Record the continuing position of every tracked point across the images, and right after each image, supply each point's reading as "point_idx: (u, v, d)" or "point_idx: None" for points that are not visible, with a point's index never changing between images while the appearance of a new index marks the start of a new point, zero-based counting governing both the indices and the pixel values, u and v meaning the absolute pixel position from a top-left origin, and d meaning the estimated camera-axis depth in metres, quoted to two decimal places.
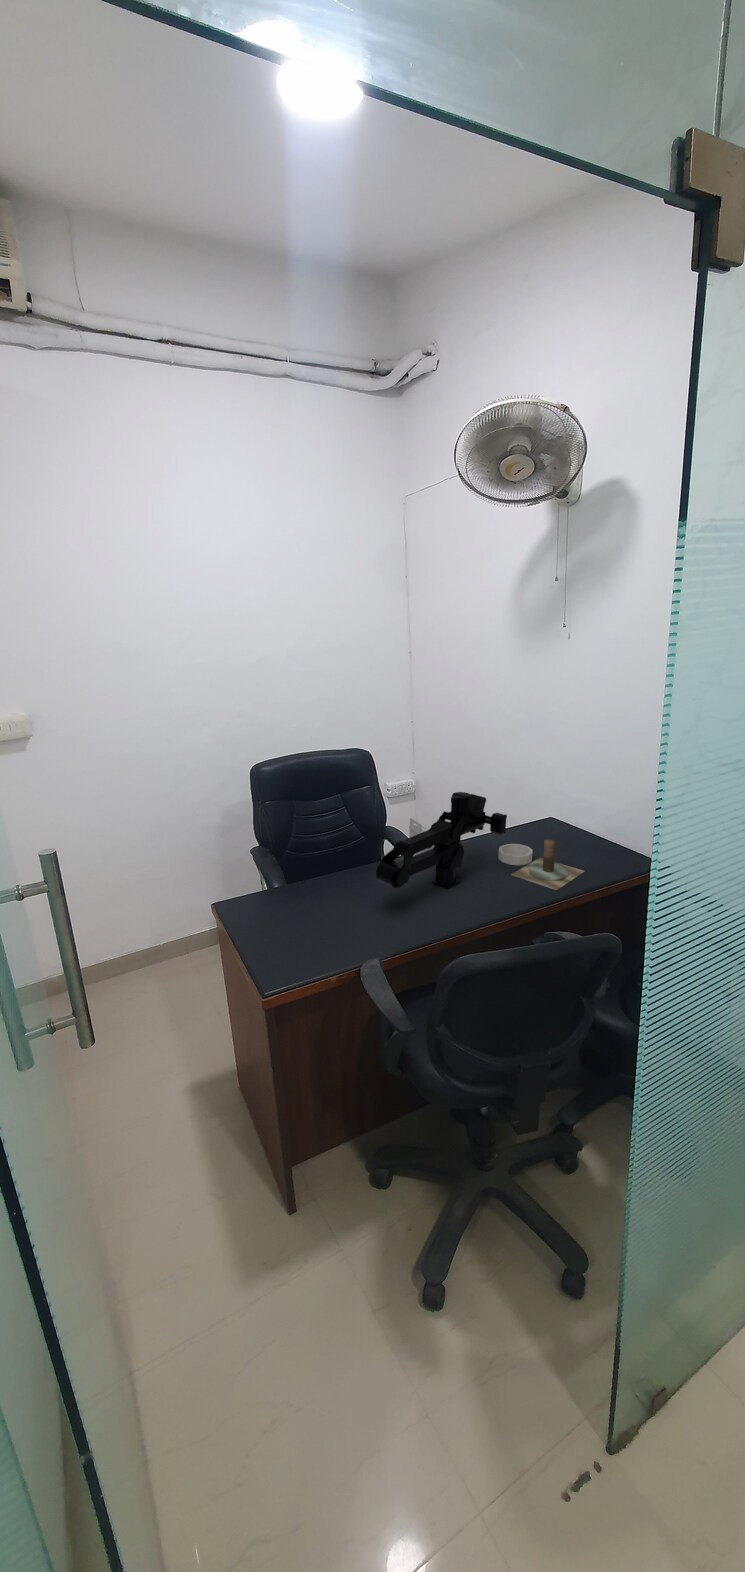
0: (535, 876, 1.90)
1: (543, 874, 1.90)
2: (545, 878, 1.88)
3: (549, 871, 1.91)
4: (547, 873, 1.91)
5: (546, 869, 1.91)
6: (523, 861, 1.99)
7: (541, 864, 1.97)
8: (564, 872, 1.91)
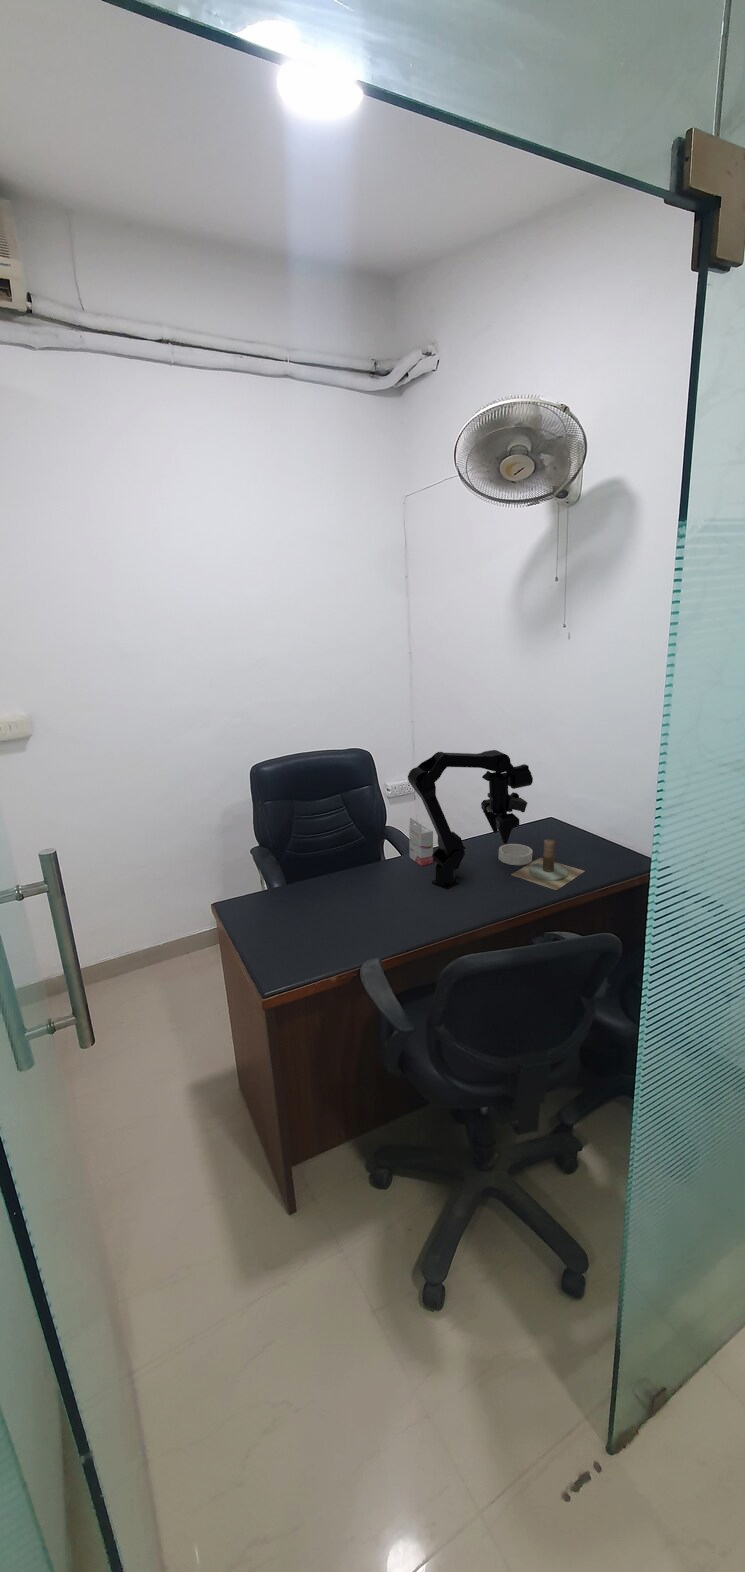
0: (535, 876, 1.90)
1: (543, 874, 1.90)
2: (545, 878, 1.88)
3: (549, 871, 1.91)
4: (547, 873, 1.91)
5: (546, 869, 1.91)
6: (523, 861, 1.99)
7: (541, 864, 1.97)
8: (564, 872, 1.91)
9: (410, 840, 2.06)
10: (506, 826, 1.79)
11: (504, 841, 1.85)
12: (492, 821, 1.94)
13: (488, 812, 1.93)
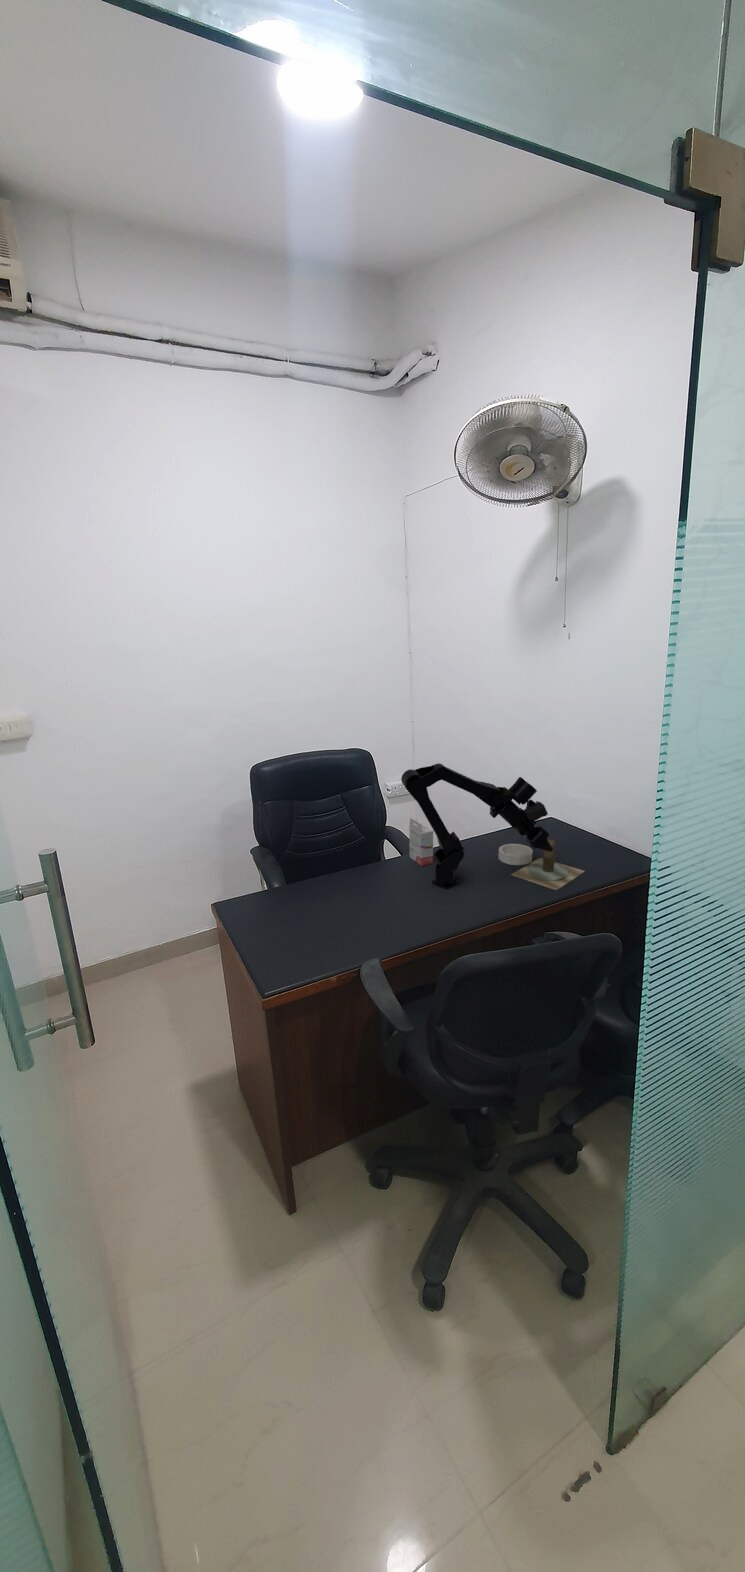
0: (535, 876, 1.90)
1: (543, 874, 1.90)
2: (545, 878, 1.88)
3: (549, 871, 1.91)
4: (547, 873, 1.91)
5: (546, 869, 1.91)
6: (523, 861, 1.99)
7: (541, 864, 1.97)
8: (564, 872, 1.91)
9: (410, 840, 2.06)
10: (539, 844, 1.79)
11: (549, 850, 1.85)
12: (530, 834, 1.94)
13: None
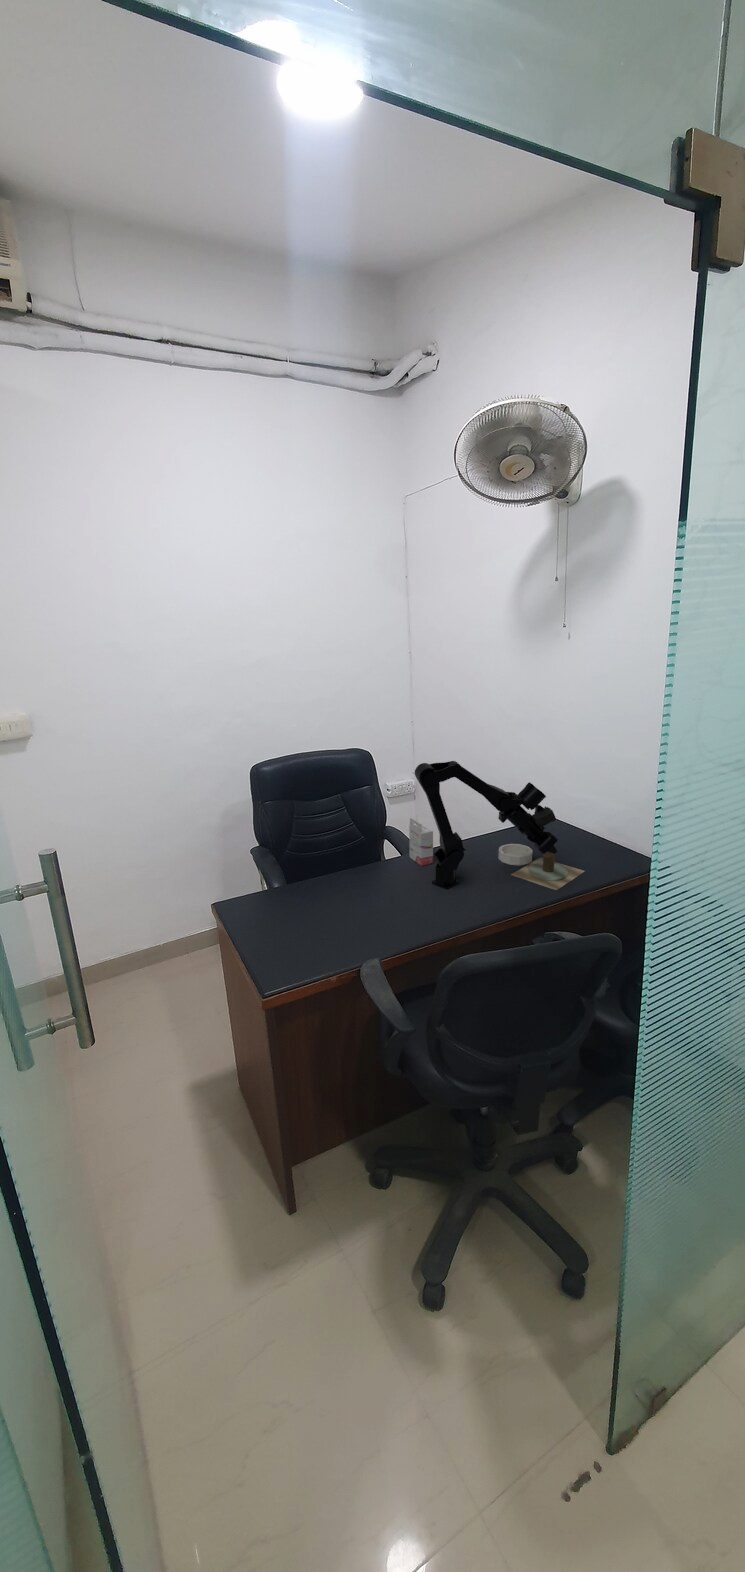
0: (535, 876, 1.90)
1: (543, 874, 1.90)
2: (545, 878, 1.88)
3: (549, 871, 1.91)
4: (547, 873, 1.91)
5: (546, 869, 1.91)
6: (523, 861, 1.99)
7: (541, 865, 1.97)
8: (564, 872, 1.91)
9: (410, 840, 2.06)
10: (547, 849, 1.80)
11: (553, 852, 1.89)
12: None
13: None
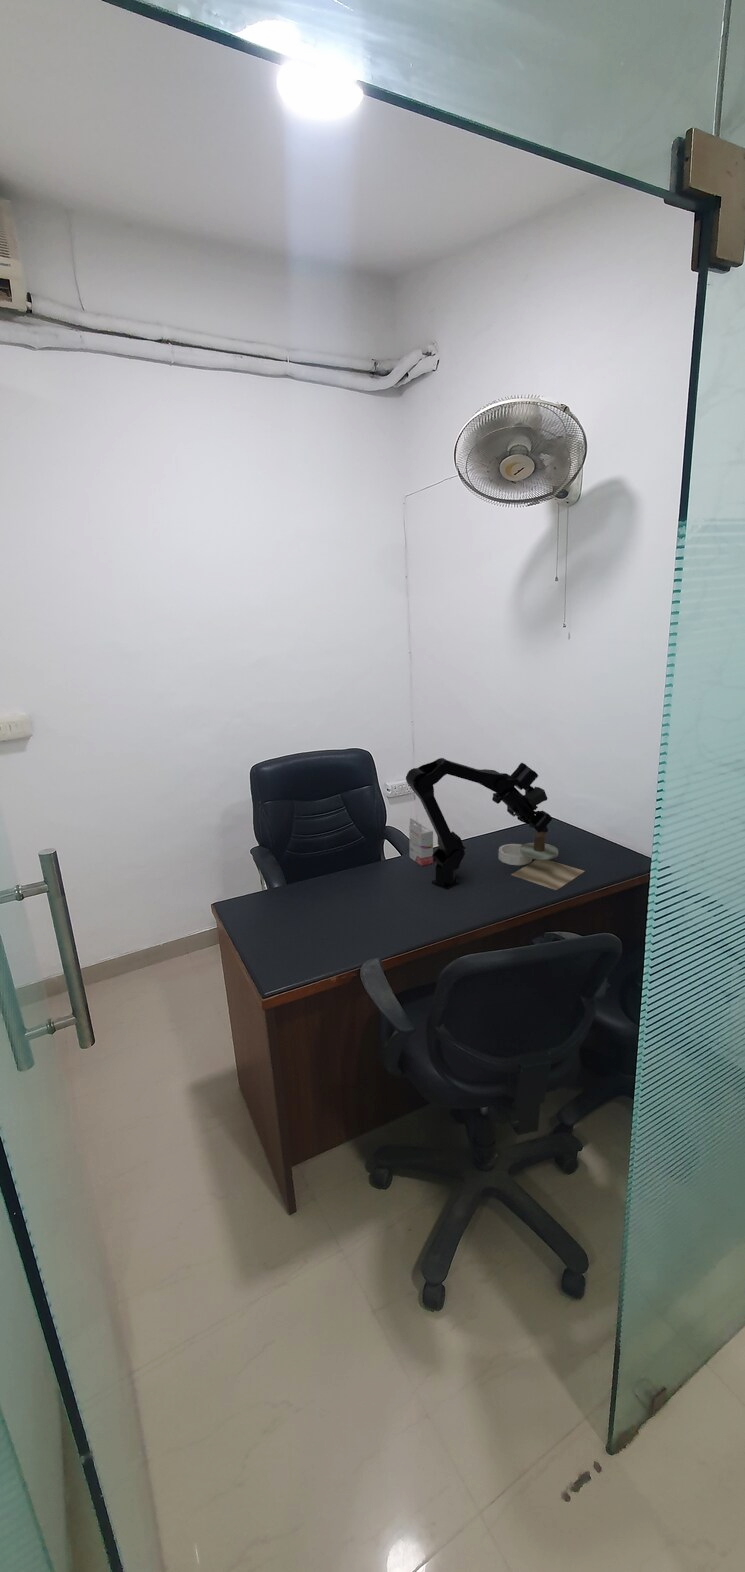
0: (528, 856, 1.92)
1: (536, 853, 1.92)
2: (539, 857, 1.90)
3: (541, 850, 1.94)
4: (539, 852, 1.93)
5: (538, 848, 1.94)
6: (523, 861, 1.99)
7: (531, 845, 1.99)
8: (555, 851, 1.94)
9: (410, 840, 2.06)
10: (543, 827, 1.82)
11: (545, 831, 1.91)
12: None
13: None
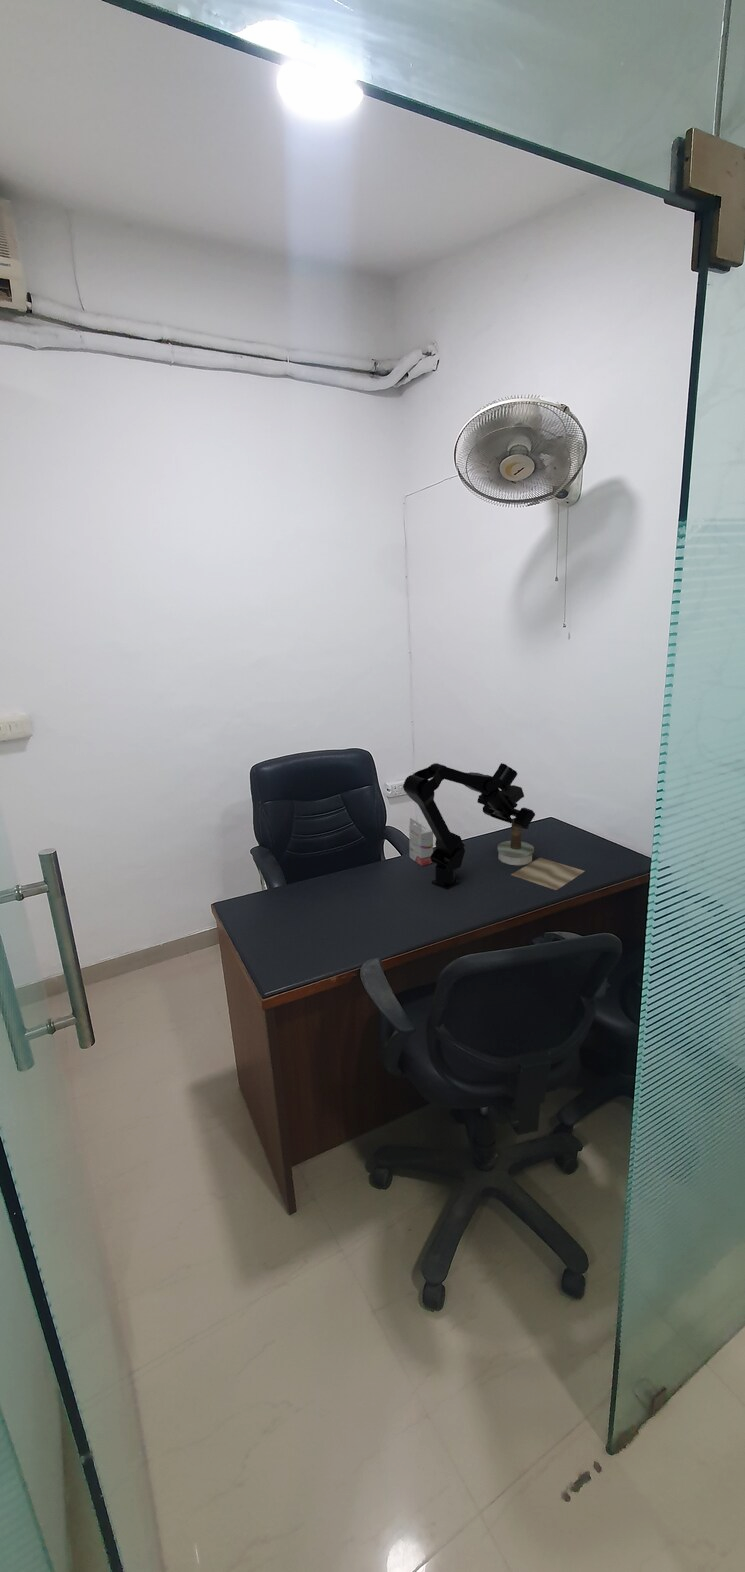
0: (510, 855, 1.99)
1: (516, 852, 2.00)
2: (520, 855, 1.98)
3: (518, 848, 2.02)
4: (518, 850, 2.01)
5: (516, 847, 2.02)
6: (523, 861, 1.99)
7: (506, 844, 2.07)
8: (531, 847, 2.04)
9: (410, 840, 2.06)
10: (528, 823, 1.90)
11: (526, 828, 1.98)
12: (504, 818, 2.03)
13: None
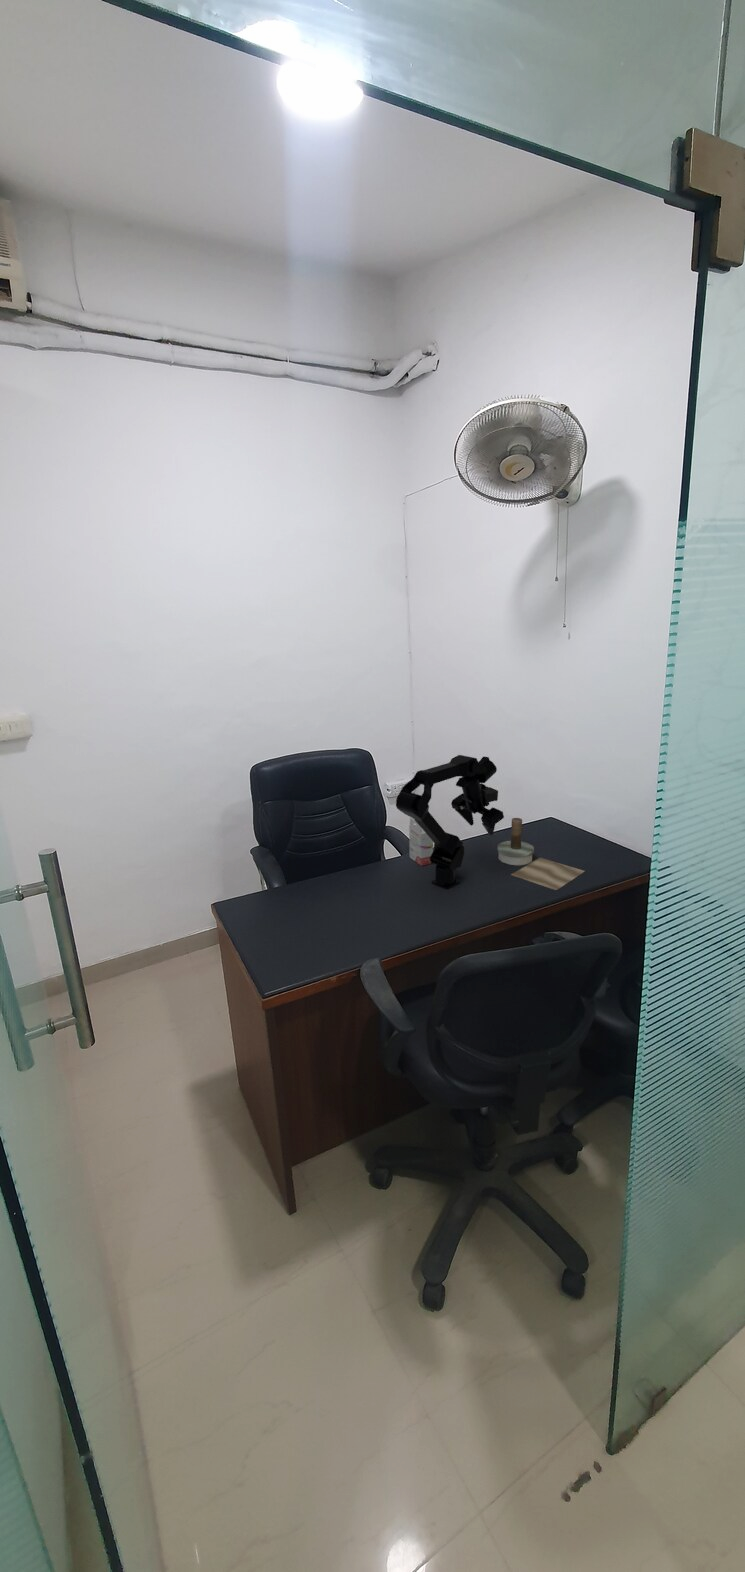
0: (510, 855, 1.99)
1: (516, 852, 2.00)
2: (520, 855, 1.98)
3: (518, 848, 2.02)
4: (518, 850, 2.01)
5: (516, 847, 2.02)
6: (523, 861, 1.99)
7: (506, 844, 2.07)
8: (531, 847, 2.04)
9: (410, 840, 2.06)
10: (495, 823, 1.86)
11: (491, 833, 1.93)
12: (467, 817, 1.99)
13: (462, 810, 1.97)
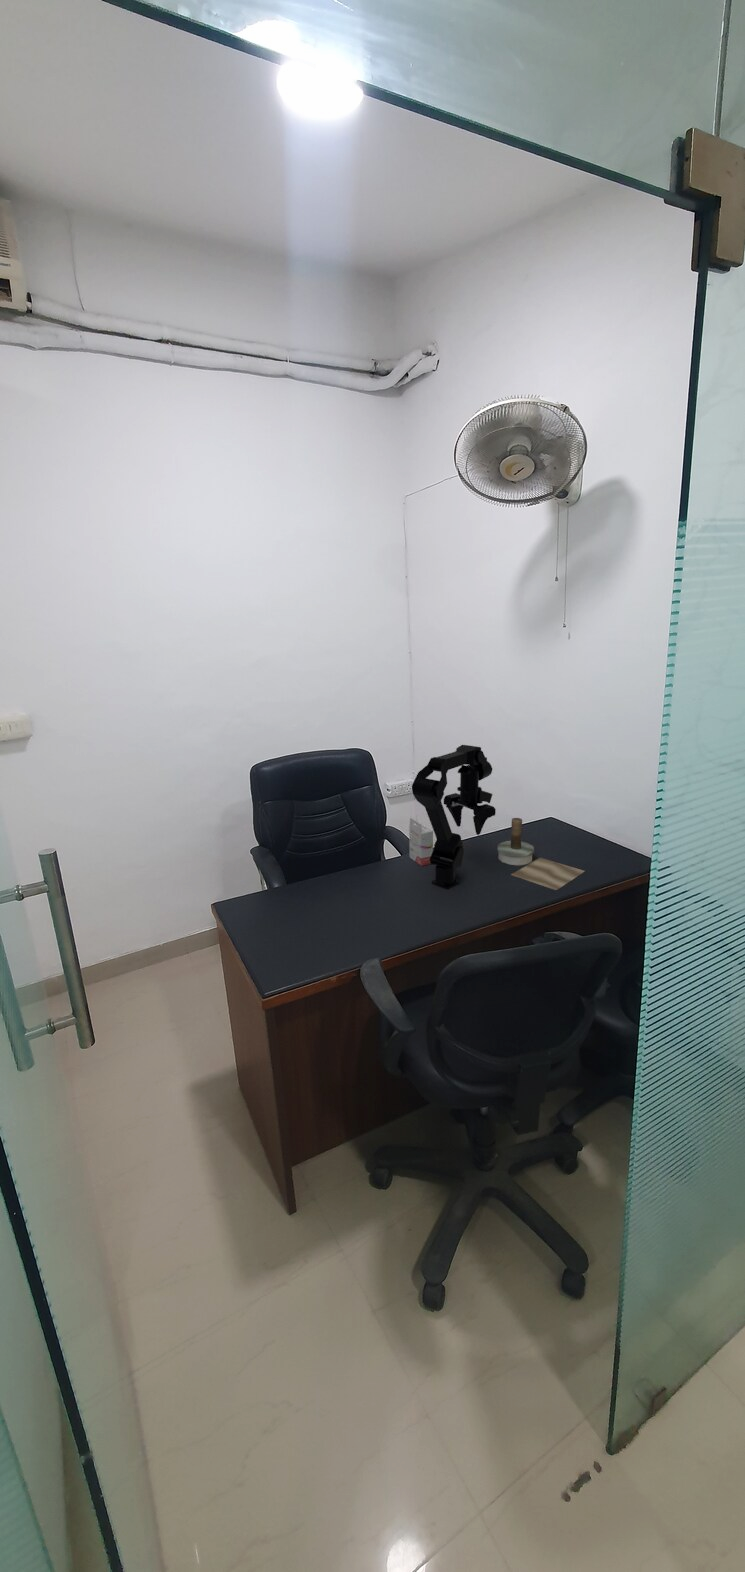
0: (510, 855, 1.99)
1: (516, 852, 2.00)
2: (520, 855, 1.98)
3: (518, 848, 2.02)
4: (518, 850, 2.01)
5: (516, 847, 2.02)
6: (523, 861, 1.99)
7: (506, 844, 2.07)
8: (531, 847, 2.04)
9: (410, 840, 2.06)
10: (486, 816, 1.86)
11: (478, 832, 1.91)
12: (456, 816, 1.98)
13: (453, 807, 1.97)
